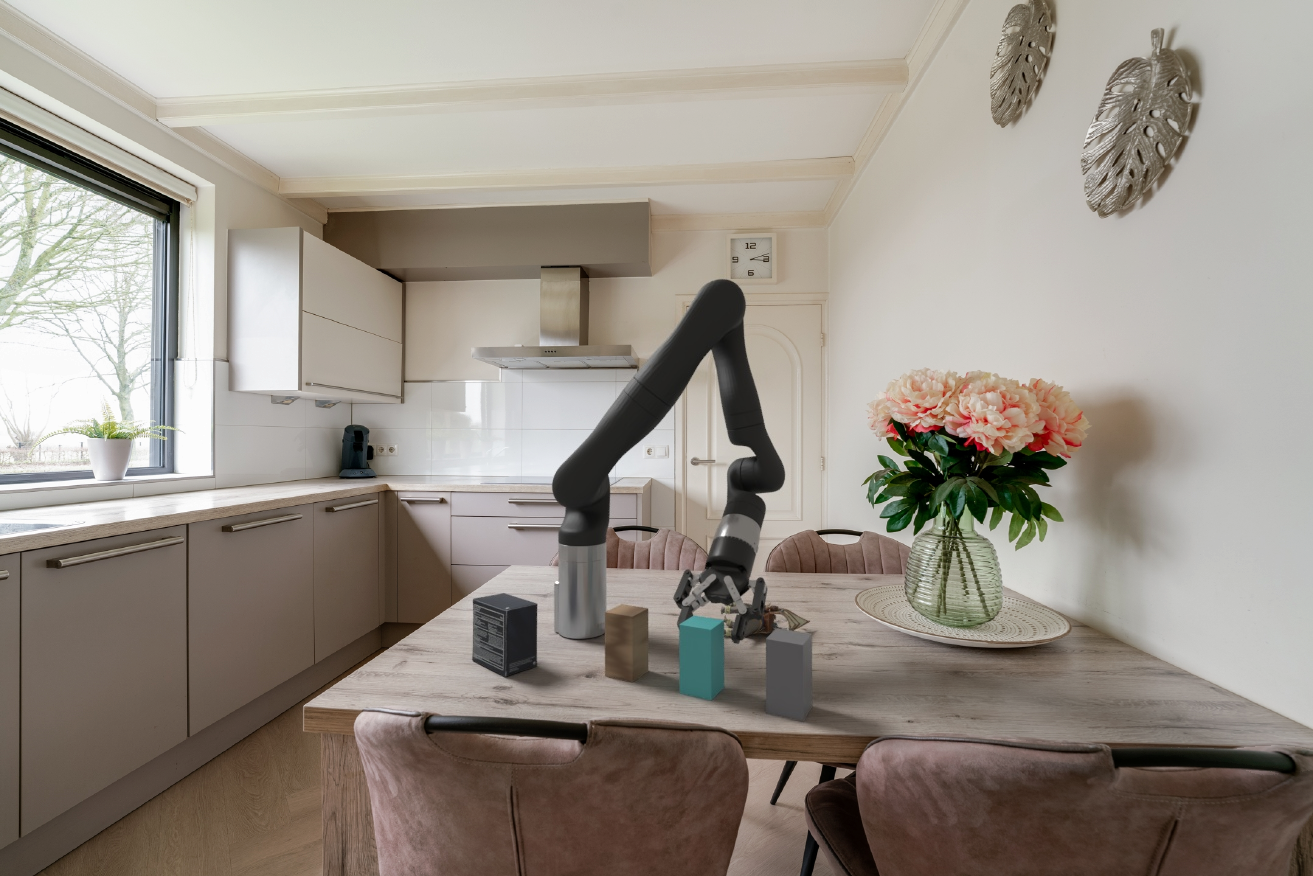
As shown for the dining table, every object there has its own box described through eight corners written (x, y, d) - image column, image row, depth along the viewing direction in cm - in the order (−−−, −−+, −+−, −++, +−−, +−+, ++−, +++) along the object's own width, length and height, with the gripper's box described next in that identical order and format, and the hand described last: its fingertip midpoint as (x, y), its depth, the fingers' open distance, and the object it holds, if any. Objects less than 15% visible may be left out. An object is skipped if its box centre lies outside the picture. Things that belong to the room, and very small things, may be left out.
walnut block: (605, 676, 89) (604, 612, 89) (621, 665, 94) (621, 604, 94) (632, 682, 87) (632, 616, 87) (648, 670, 91) (648, 608, 91)
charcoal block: (766, 713, 77) (765, 638, 77) (776, 698, 81) (776, 628, 81) (803, 721, 75) (802, 645, 75) (812, 706, 79) (812, 633, 79)
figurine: (727, 590, 122) (808, 595, 118) (726, 619, 121) (808, 625, 118) (716, 611, 102) (813, 618, 99) (715, 645, 102) (813, 654, 98)
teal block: (679, 693, 83) (679, 624, 83) (693, 680, 88) (693, 615, 88) (711, 700, 81) (711, 629, 81) (724, 687, 85) (724, 620, 85)
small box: (540, 666, 93) (540, 602, 94) (505, 678, 89) (505, 610, 89) (504, 650, 101) (504, 590, 101) (470, 660, 96) (470, 598, 96)
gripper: (689, 531, 97) (657, 617, 87) (770, 537, 90) (747, 631, 80) (701, 557, 102) (673, 641, 92) (780, 564, 95) (759, 656, 85)
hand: (707, 636), depth 86 cm, fingers open, 8 cm apart
